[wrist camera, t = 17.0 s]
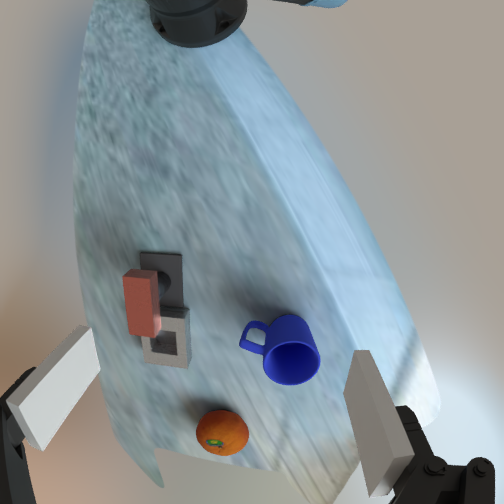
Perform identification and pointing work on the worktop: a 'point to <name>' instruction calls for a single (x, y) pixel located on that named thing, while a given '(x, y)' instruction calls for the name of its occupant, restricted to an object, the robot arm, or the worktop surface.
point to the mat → (172, 268)
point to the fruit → (222, 432)
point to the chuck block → (170, 340)
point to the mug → (285, 350)
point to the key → (144, 300)
